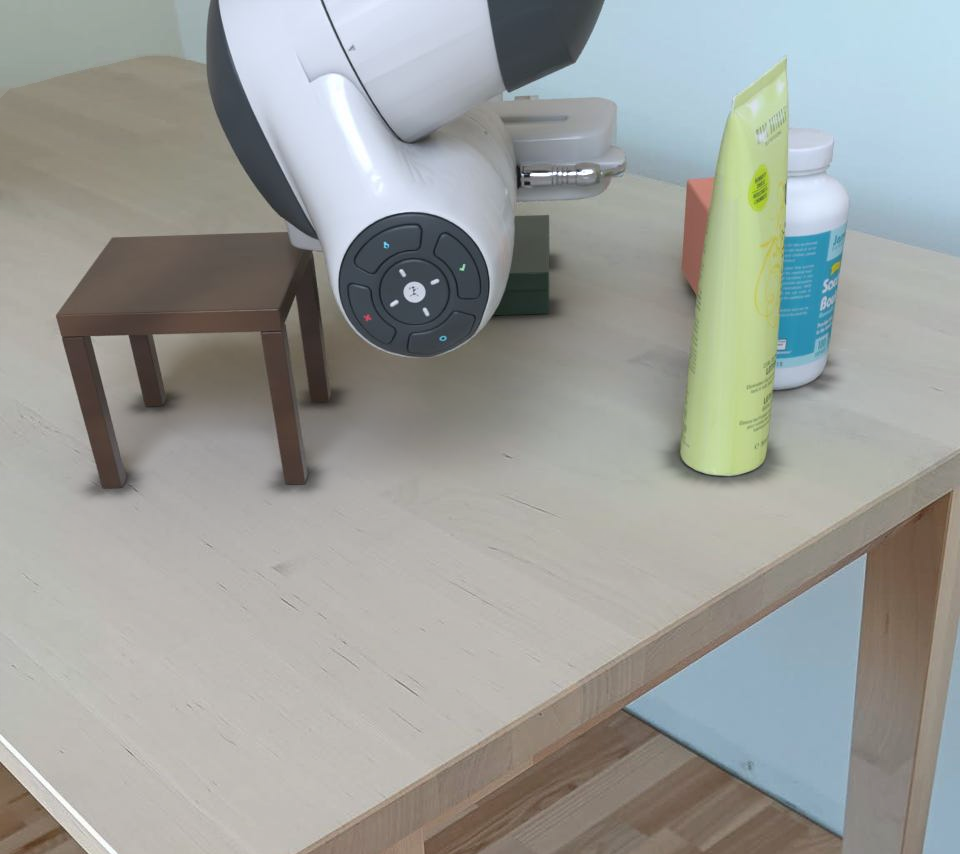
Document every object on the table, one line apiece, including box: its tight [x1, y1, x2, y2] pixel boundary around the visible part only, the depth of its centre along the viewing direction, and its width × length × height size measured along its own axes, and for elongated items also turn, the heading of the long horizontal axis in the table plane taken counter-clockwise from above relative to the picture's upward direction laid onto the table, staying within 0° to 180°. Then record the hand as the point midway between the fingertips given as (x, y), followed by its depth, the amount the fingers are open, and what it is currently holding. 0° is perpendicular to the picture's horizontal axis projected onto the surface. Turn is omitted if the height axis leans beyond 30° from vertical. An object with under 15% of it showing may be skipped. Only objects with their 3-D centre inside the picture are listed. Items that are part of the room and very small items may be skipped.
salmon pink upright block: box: [681, 176, 715, 297], centre depth 88 cm, size 8×12×8 cm, turn 5°
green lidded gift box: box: [492, 214, 550, 316], centre depth 93 cm, size 12×12×3 cm
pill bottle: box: [773, 127, 850, 391], centre depth 77 cm, size 8×7×14 cm
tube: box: [679, 54, 790, 477], centre depth 67 cm, size 6×5×20 cm
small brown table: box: [55, 231, 332, 489], centre depth 75 cm, size 12×12×10 cm
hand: (451, 113), depth 79 cm, fingers open, 8 cm apart
